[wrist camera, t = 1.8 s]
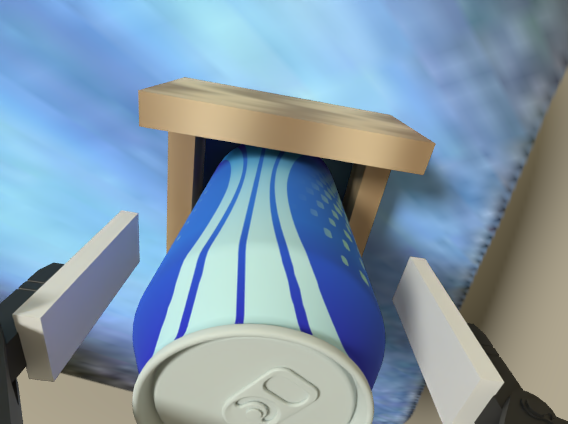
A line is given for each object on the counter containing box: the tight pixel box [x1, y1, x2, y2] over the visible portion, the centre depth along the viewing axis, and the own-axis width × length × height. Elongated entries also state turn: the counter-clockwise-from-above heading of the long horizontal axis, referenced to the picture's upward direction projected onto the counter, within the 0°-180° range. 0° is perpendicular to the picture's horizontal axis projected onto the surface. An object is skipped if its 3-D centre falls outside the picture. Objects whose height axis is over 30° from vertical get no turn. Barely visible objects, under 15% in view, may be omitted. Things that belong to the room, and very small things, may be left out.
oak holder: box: [138, 77, 435, 258], centre depth 20 cm, size 13×13×7 cm
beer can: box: [132, 144, 385, 424], centre depth 16 cm, size 8×8×16 cm
